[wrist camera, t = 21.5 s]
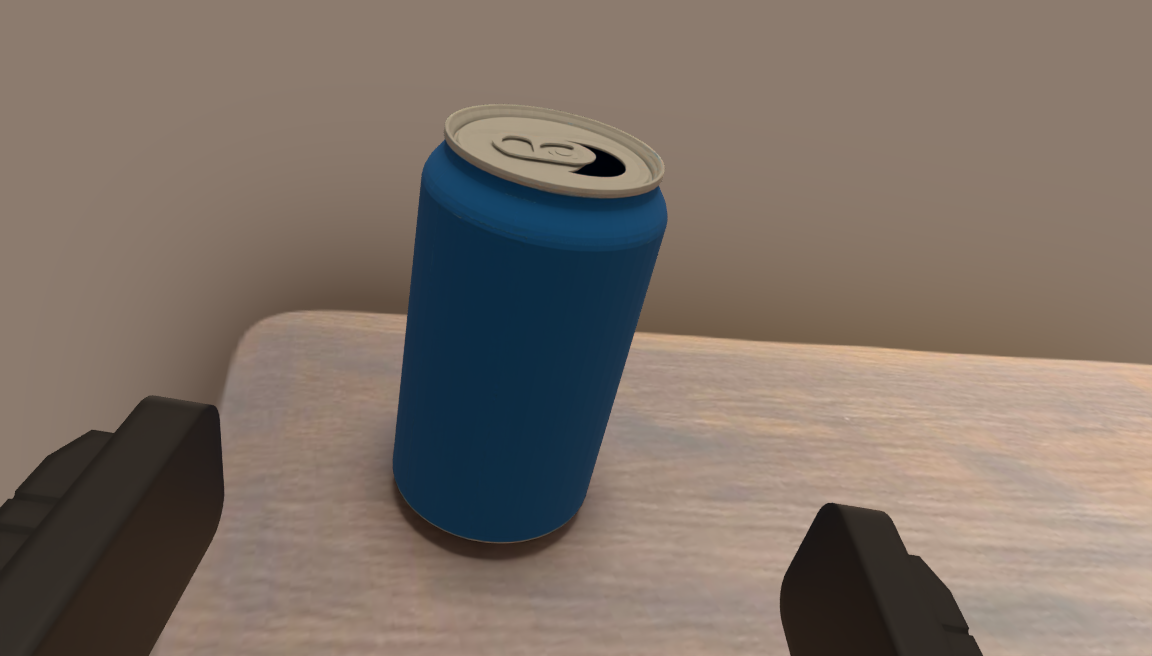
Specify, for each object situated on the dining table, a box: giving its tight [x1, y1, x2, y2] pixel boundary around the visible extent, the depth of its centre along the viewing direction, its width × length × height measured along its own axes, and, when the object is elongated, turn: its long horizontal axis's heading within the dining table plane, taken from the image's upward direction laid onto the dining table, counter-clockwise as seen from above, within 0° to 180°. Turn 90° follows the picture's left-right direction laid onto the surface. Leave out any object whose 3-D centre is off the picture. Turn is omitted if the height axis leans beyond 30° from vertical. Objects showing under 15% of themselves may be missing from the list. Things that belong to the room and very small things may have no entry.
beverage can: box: [393, 104, 667, 543], centre depth 22 cm, size 6×6×12 cm
